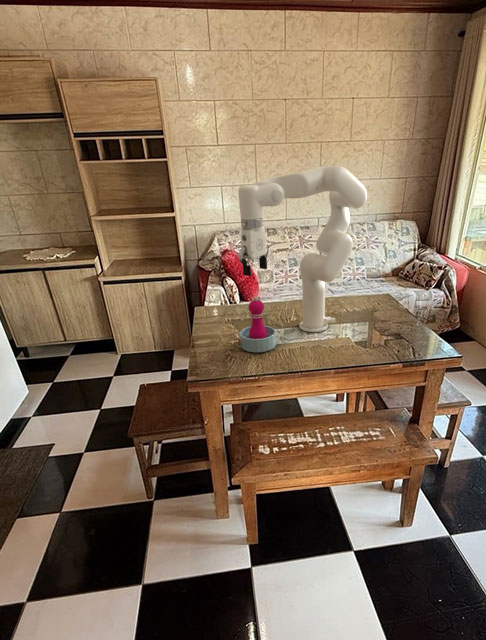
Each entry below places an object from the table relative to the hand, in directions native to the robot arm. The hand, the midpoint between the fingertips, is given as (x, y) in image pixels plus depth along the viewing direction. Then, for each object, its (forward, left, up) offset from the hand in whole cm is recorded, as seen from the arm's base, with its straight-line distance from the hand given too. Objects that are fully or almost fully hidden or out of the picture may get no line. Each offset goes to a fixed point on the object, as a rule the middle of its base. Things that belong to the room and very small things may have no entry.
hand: (255, 272), depth 152 cm
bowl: (+1, +2, -29) cm, 30 cm away
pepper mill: (+1, +2, -29) cm, 29 cm away
